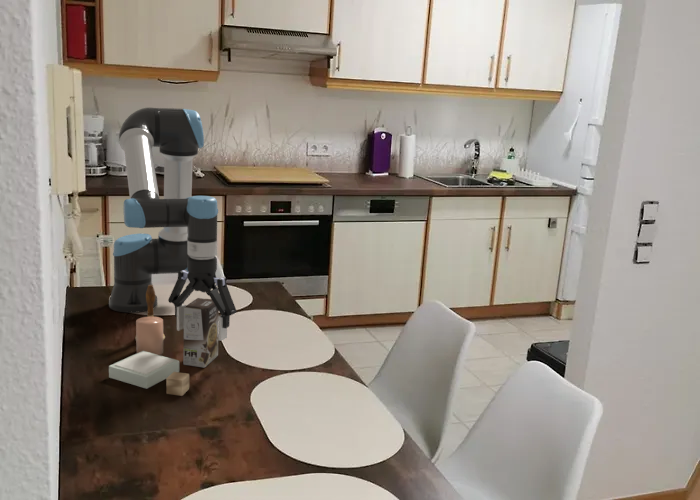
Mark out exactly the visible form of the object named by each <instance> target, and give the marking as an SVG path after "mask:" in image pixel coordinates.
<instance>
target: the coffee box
mask: <svg viewBox="0 0 700 500" xmlns="http://www.w3.org/2000/svg"><path fill="white" fill-rule="evenodd" d="M185 305H186V306H185V307H184V329H183V361H182V362H183V363H182V364H183V366H191V367H197V368H206V367H207V366H208V365H209V364H210V363H212V362H213V361H214V360H215V359H216V358H217V357H218V356H219V340H218V338H219V316H220V315H219V314H220V312H219V310H218V309H217V307H216V305H215V304H214V302H213V301H212V299H211V298H201V297H197V298H196V299H193V300H192V301H190V303H188V304H185Z"/></svg>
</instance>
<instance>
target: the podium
mask: <svg viewBox="0 0 700 500" xmlns="http://www.w3.org/2000/svg"><path fill="white" fill-rule="evenodd" d="M173 372H179V373H180V360H178V359H175V358H171V357H167V356H163V355H161V354H160V355H157V354H153V353H149V352H146V351H141V352H139V353H137V352H136V353H135V354H132V355H130V356H128V357H126V358H124V359H121V360H119V361H117V362H114V363H113V364H110V365H108V379H109V378H110V379H113V380H117V381H121V382H123V383H127V384H131V385H133V386H137V387H140V388H143V389H149V388H151V387H153V386H155V385H157V384H158V383H160V382H162V381H164V380H166V378H167V377H168V376H170V375H171V374H172V373H173Z"/></svg>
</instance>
